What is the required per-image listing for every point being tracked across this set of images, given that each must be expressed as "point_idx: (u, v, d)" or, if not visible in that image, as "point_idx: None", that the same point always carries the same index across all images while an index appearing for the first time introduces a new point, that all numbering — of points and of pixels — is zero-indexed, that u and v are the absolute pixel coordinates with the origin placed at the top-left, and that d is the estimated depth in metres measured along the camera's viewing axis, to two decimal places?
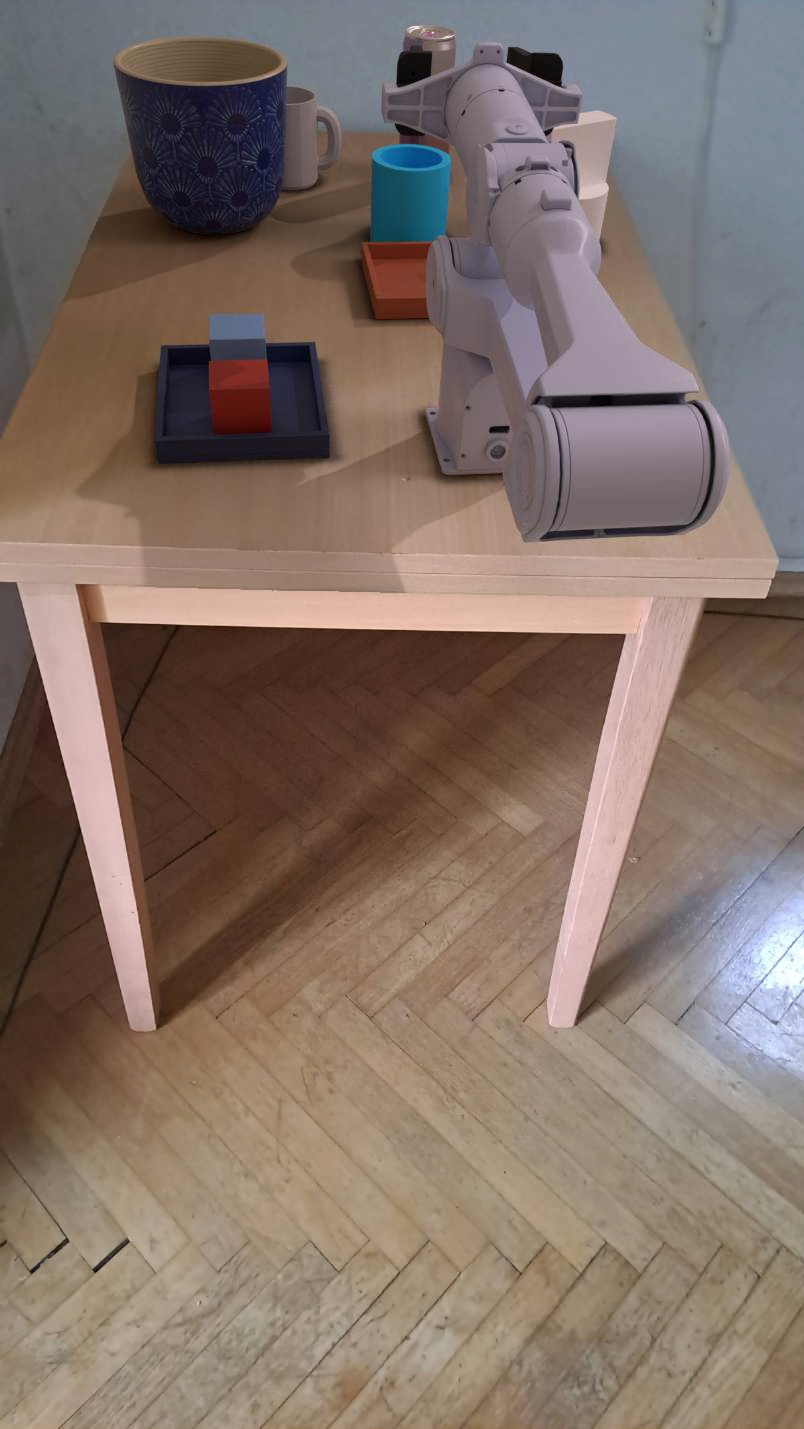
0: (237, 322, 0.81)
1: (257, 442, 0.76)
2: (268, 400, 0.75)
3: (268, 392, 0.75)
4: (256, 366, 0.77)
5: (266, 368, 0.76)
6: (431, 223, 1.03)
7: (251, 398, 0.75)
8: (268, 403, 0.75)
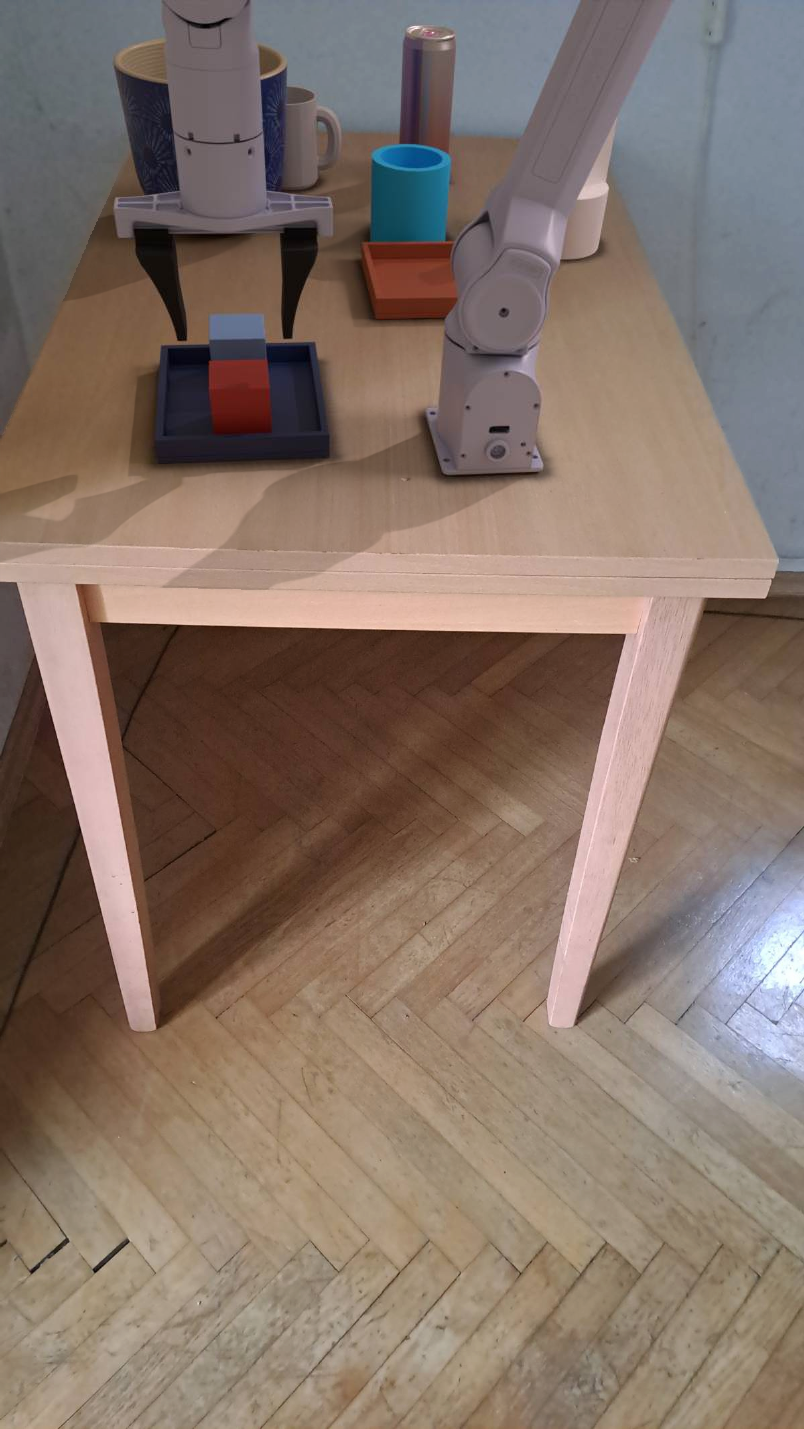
0: (237, 322, 0.81)
1: (257, 442, 0.76)
2: (268, 400, 0.75)
3: (268, 392, 0.75)
4: (256, 366, 0.77)
5: (266, 368, 0.76)
6: (431, 223, 1.03)
7: (251, 398, 0.75)
8: (268, 403, 0.75)
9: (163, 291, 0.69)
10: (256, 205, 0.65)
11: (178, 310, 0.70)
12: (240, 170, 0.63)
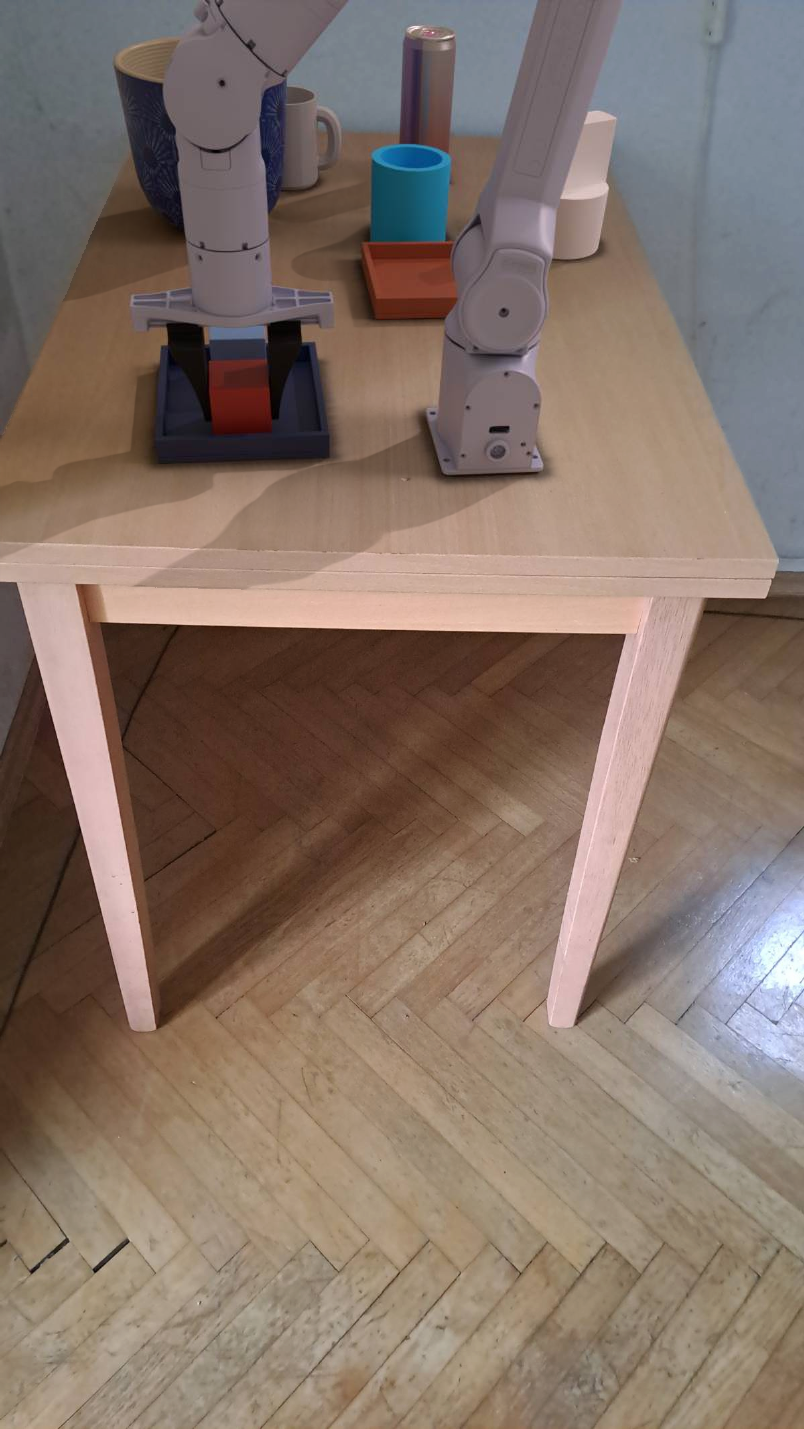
0: None
1: (257, 442, 0.76)
2: (268, 400, 0.75)
3: (268, 392, 0.75)
4: (256, 366, 0.77)
5: (265, 368, 0.76)
6: (431, 223, 1.03)
7: (251, 398, 0.75)
8: (268, 403, 0.75)
9: (193, 379, 0.74)
10: (262, 303, 0.70)
11: (206, 395, 0.75)
12: (247, 274, 0.68)
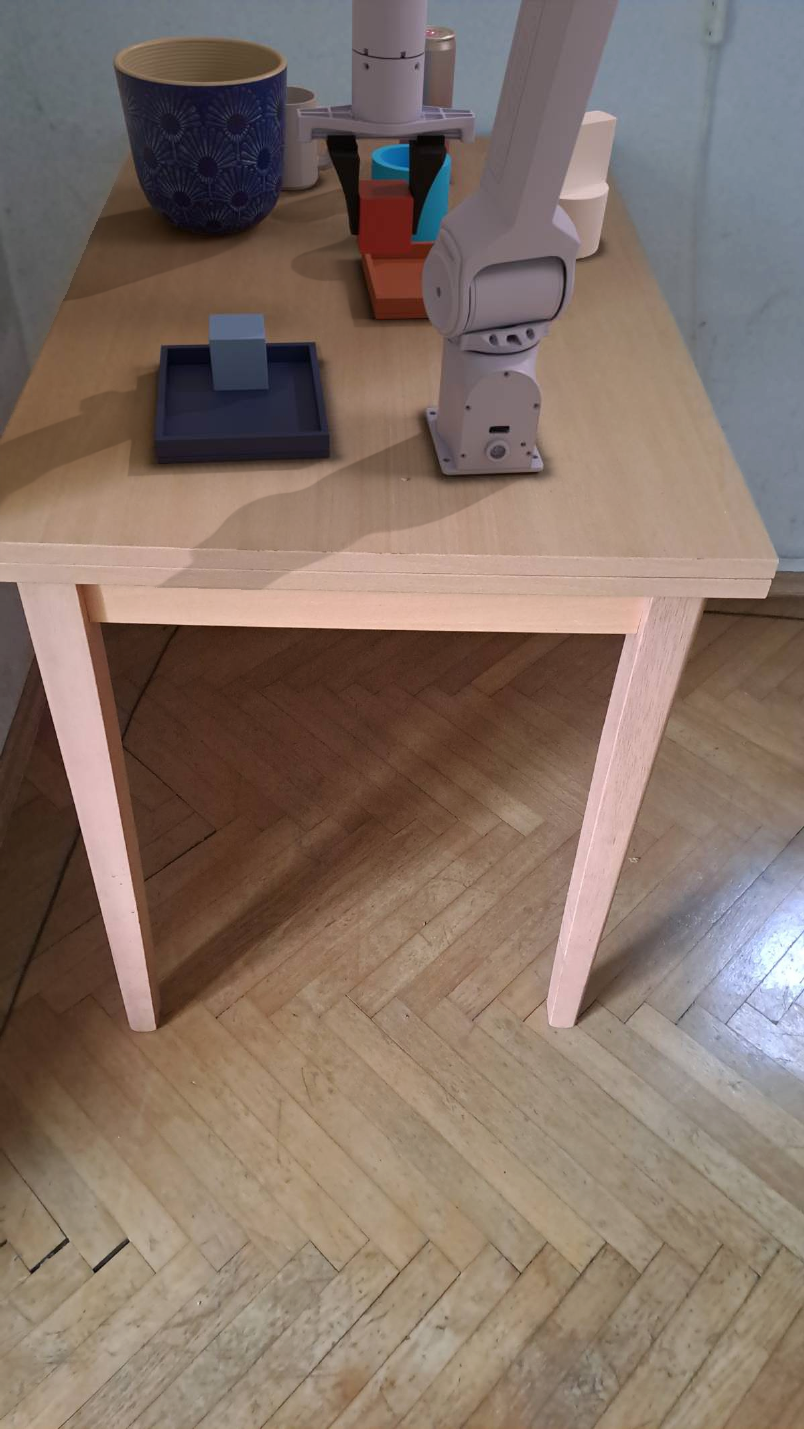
0: (237, 322, 0.81)
1: (257, 442, 0.76)
2: (411, 211, 0.84)
3: (412, 203, 0.84)
4: (398, 184, 0.85)
5: (406, 185, 0.85)
6: (431, 223, 1.03)
7: (397, 208, 0.84)
8: (411, 214, 0.84)
9: (347, 189, 0.82)
10: (415, 114, 0.79)
11: (356, 206, 0.84)
12: (407, 82, 0.77)
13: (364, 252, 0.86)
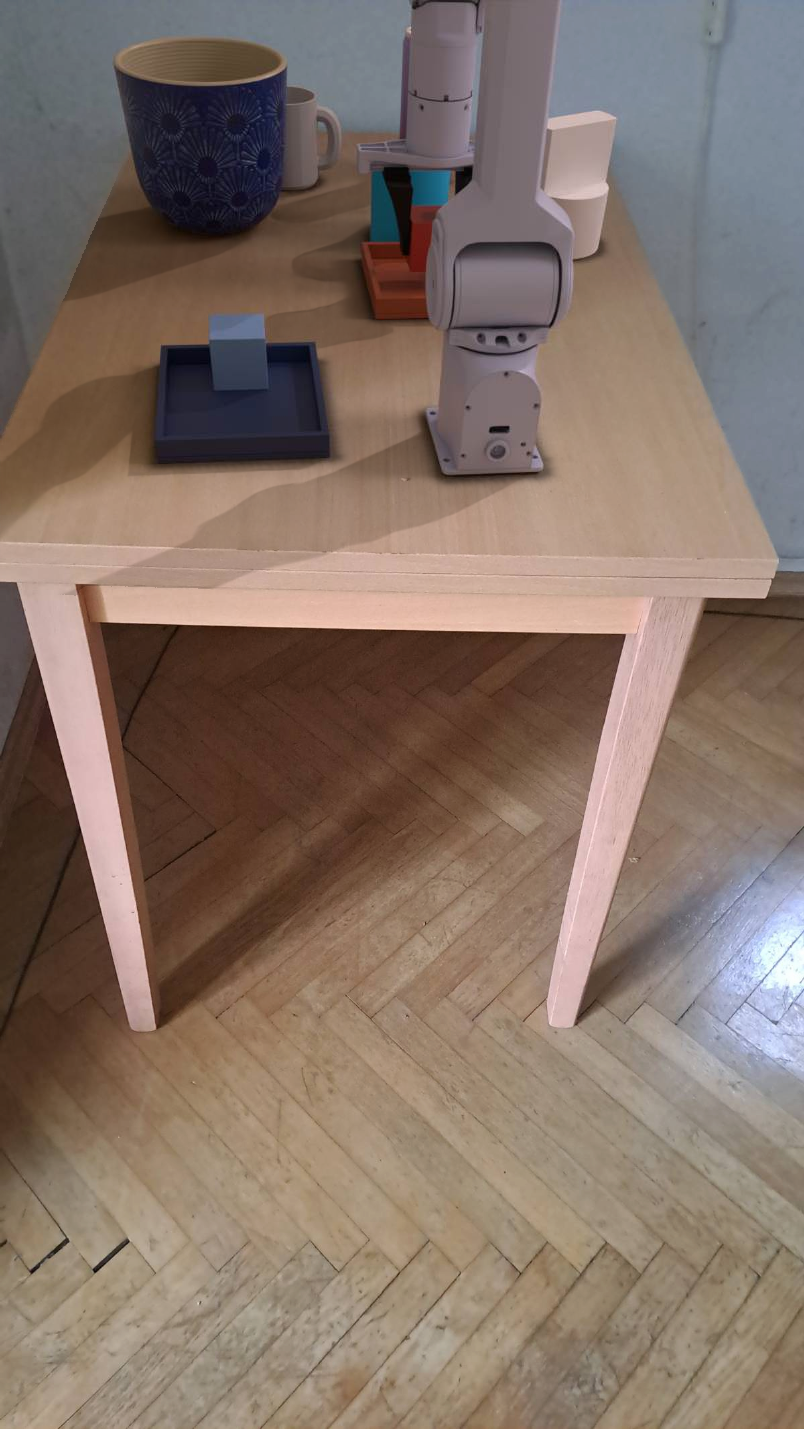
0: (237, 322, 0.81)
1: (257, 442, 0.76)
2: None
3: None
4: None
5: None
6: None
7: None
8: None
9: (400, 215, 0.92)
10: (463, 149, 0.88)
11: (408, 230, 0.93)
12: (457, 121, 0.86)
13: (414, 270, 0.95)
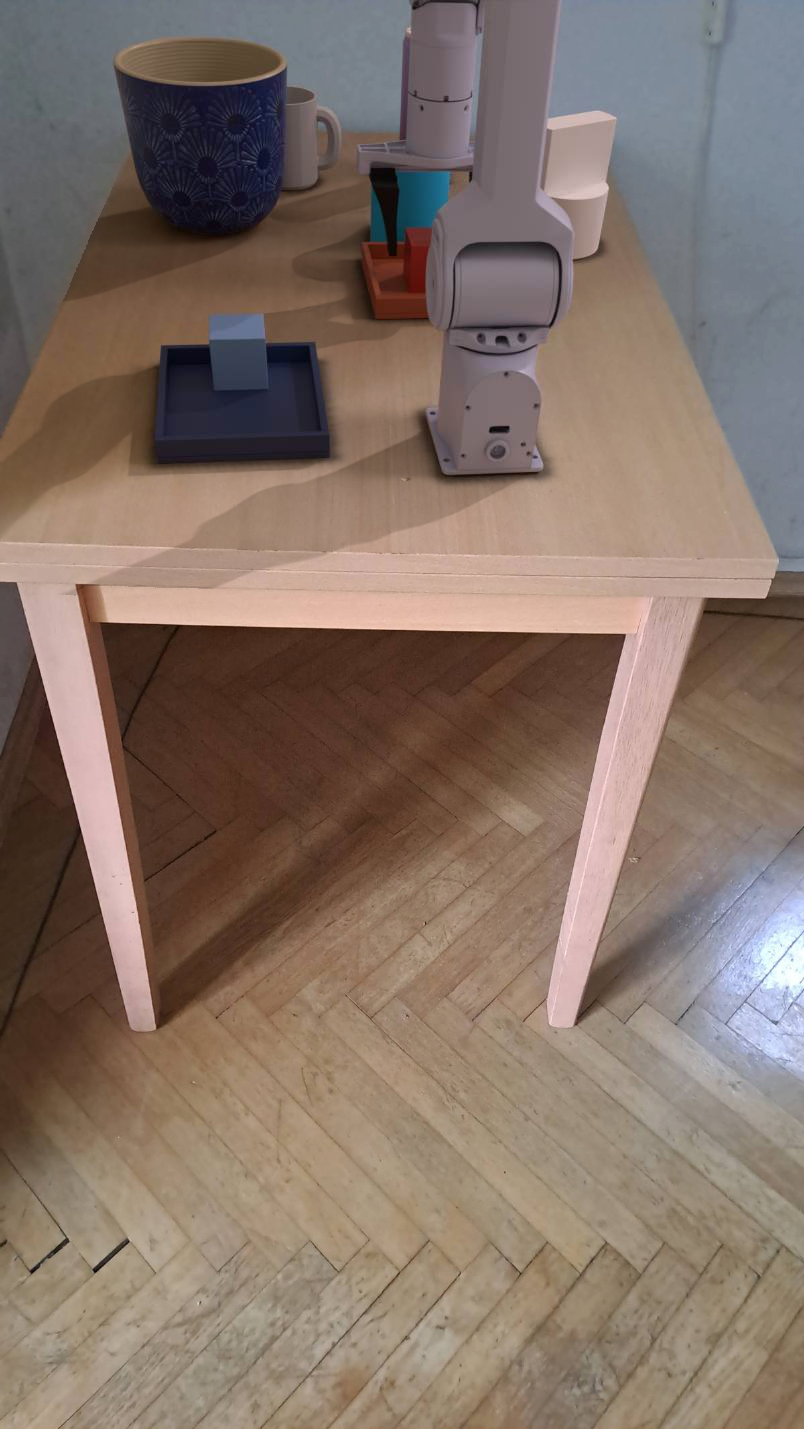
0: (237, 322, 0.81)
1: (257, 442, 0.76)
2: None
3: None
4: None
5: None
6: (431, 223, 1.03)
7: None
8: None
9: (387, 215, 0.92)
10: (463, 149, 0.88)
11: (395, 231, 0.93)
12: (457, 122, 0.86)
13: (413, 291, 0.97)
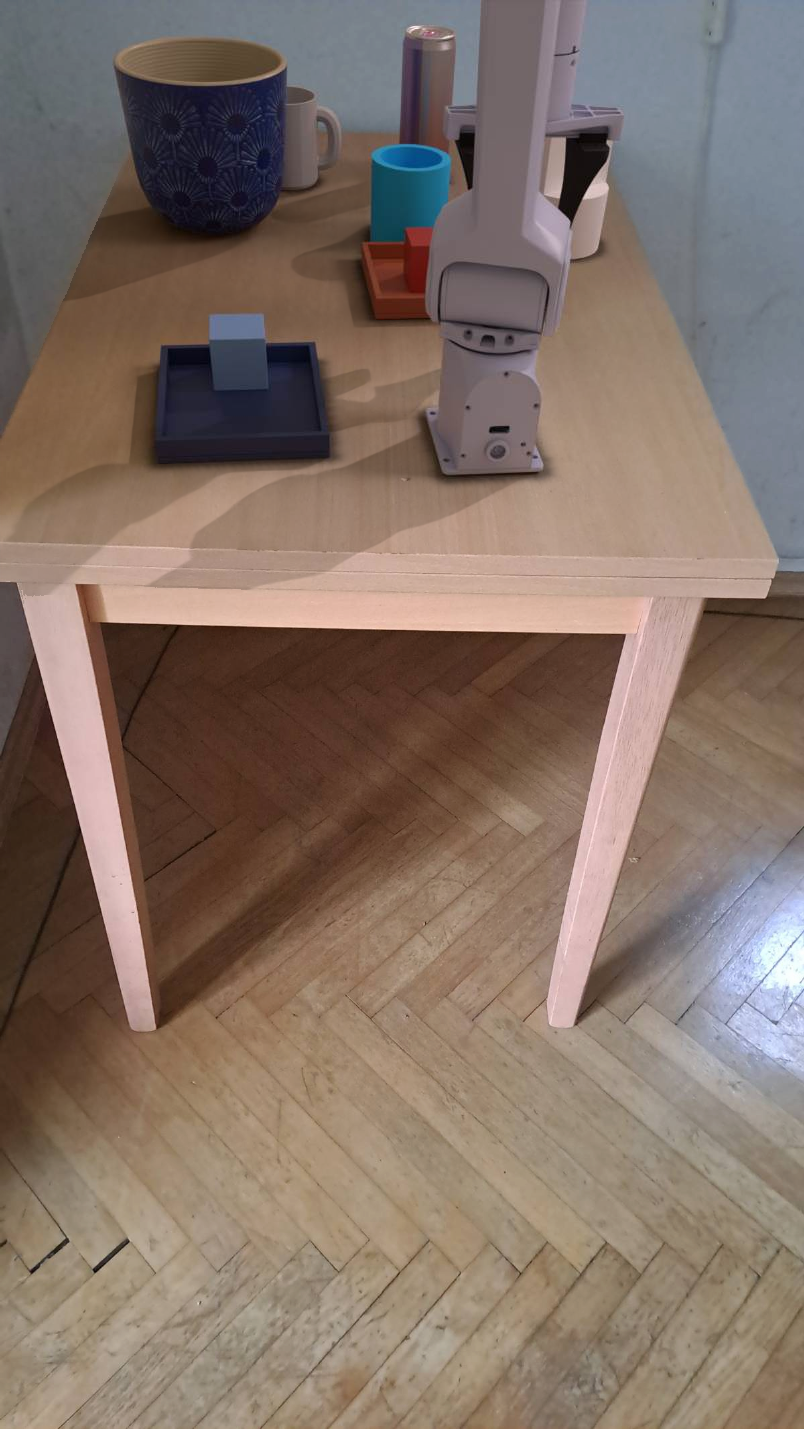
0: (237, 322, 0.81)
1: (257, 442, 0.76)
2: None
3: None
4: None
5: None
6: (431, 223, 1.03)
7: None
8: None
9: None
10: (566, 111, 0.78)
11: None
12: (563, 79, 0.76)
13: (413, 291, 0.97)
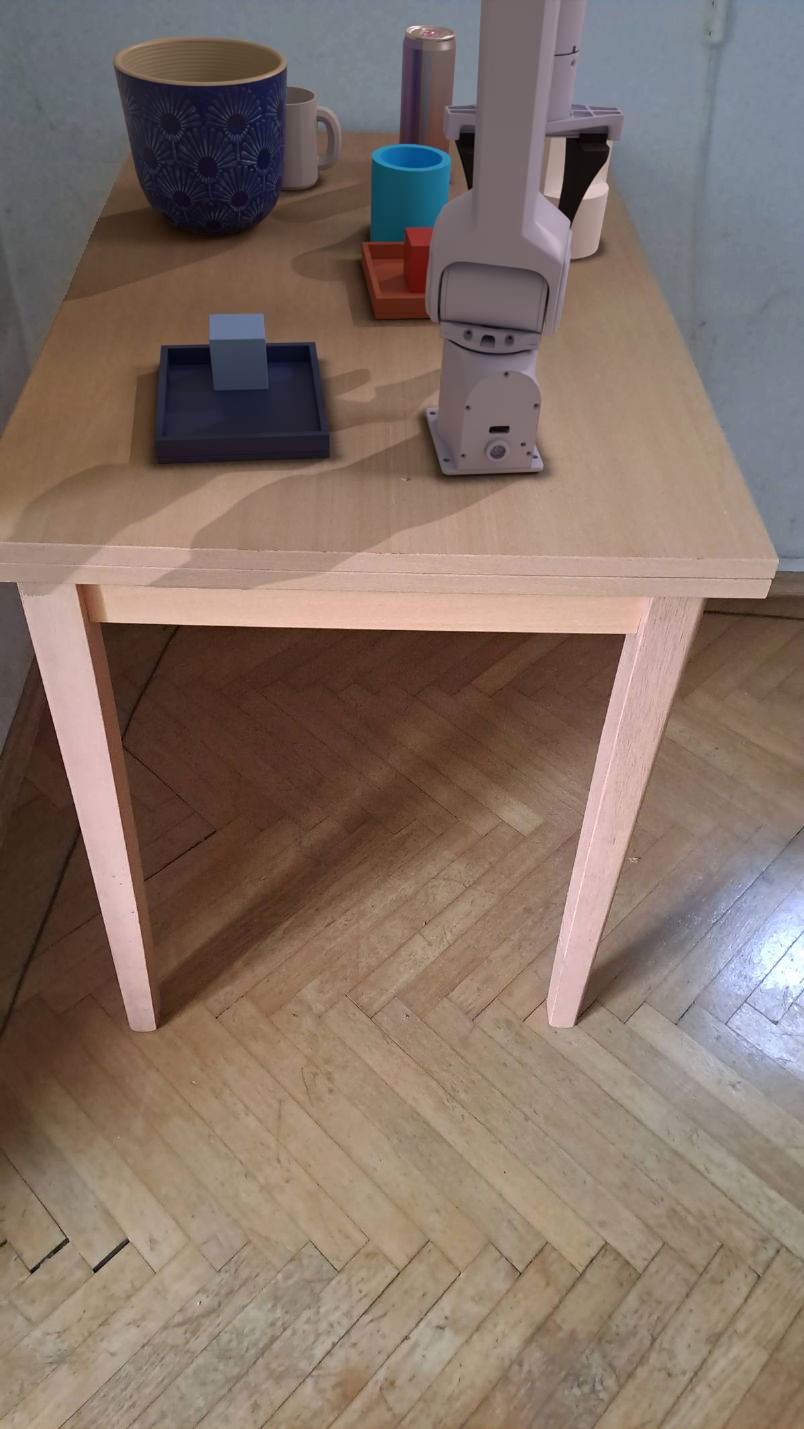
0: (237, 322, 0.81)
1: (257, 442, 0.76)
2: None
3: None
4: None
5: None
6: (431, 223, 1.03)
7: None
8: None
9: None
10: (566, 111, 0.78)
11: None
12: (563, 79, 0.76)
13: (413, 291, 0.97)
